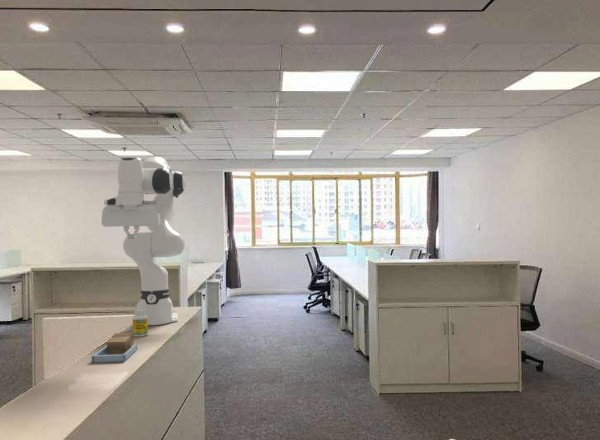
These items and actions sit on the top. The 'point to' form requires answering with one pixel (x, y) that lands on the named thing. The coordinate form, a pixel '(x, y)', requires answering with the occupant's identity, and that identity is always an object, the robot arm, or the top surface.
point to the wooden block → (120, 343)
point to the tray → (113, 355)
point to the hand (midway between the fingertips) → (131, 238)
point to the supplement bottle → (140, 323)
